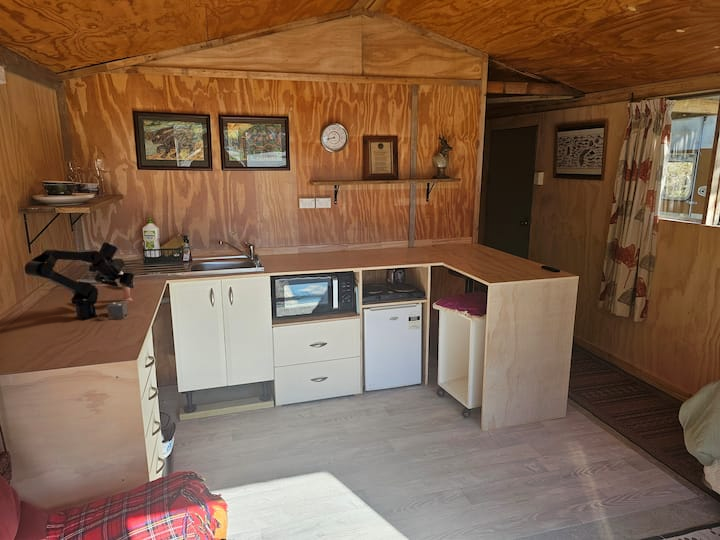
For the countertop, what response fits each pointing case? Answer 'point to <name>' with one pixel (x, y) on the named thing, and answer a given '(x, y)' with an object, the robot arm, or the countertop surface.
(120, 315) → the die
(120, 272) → the bull figurine
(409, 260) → the countertop surface
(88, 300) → the robot arm
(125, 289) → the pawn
